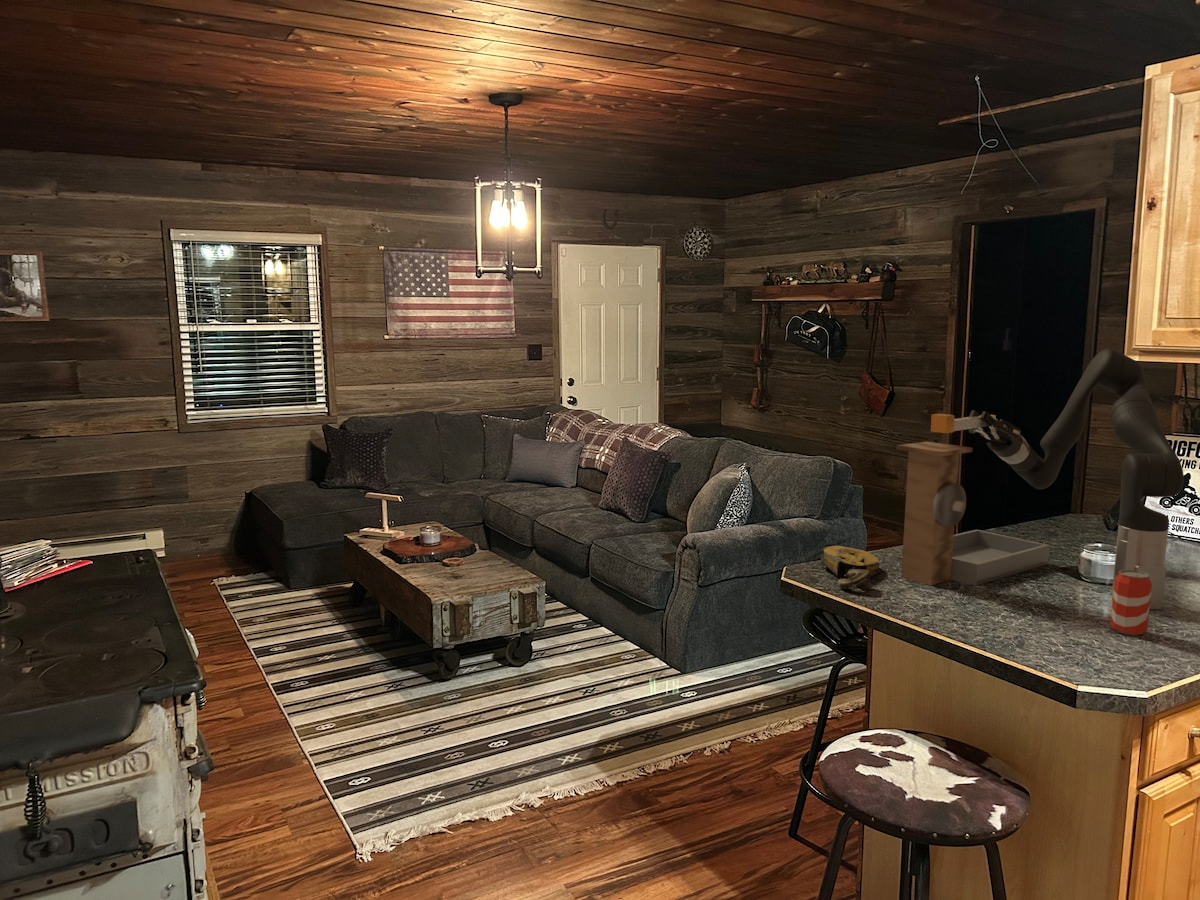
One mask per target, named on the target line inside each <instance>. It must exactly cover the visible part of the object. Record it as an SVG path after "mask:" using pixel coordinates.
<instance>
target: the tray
mask: <svg viewBox="0 0 1200 900" xmlns="http://www.w3.org/2000/svg"><path fill="white" fill-rule="evenodd" d="M1049 555H1050V544H1045V543H1040V542H1036V541H1032V540H1031V541H1030V540H1026V539H1023V538H1017V537H1013V536H1009V535H1003V534H998V533H994V532H990V531H986V530H985V531H984V530H981V529H973V530H968V531H964V532H960V533H956V534H954V537H953V552H952V566H951V580H955V581H958V582H963V583H966V584H970V585H974V586H979V585H983V584H985V583H989V582H993V581H996V580H1000V579H1002V578H1006V577H1009V576H1013V575H1018V574H1019V573H1022V572H1027V571H1030V570H1034V569H1036V568H1040V567H1044V566H1047V565H1049Z"/></svg>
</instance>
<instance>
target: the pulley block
mask: <svg viewBox="0 0 1200 900" xmlns="http://www.w3.org/2000/svg"><path fill="white" fill-rule="evenodd" d="M820 554H822V557H821V559H820V563H822V564H823V565H824V566H825V567H826V568H827V569H829V570H830V571H831V572H832V573H833V574H834V575H835V576H837V578H839V579H838V580H837V582H836V583H837V584H838V587H839V588H841V589H843V590H851V589H853V590H856V588H857V587H860V586H861V585H863V584H865V583H867V582H868V581H870V579H871V578H872V577H874V576H876V575H878V574H879V573H880V570H879V568H880V560H879V558H878V557H877V556H875V555H874V554H872V553H870V552H868V551H866V550H862V549H857V548H852V547H850V546H846V545H843V544H842V545H841V544H835V543H830V544H825V545H824V546H823V548H822V549H821V551H820ZM871 576H872V577H871Z"/></svg>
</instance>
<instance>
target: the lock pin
mask: <svg viewBox="0 0 1200 900" xmlns="http://www.w3.org/2000/svg"><path fill="white" fill-rule="evenodd" d="M981 415H982V414H981ZM981 415H980V414H979V416H971V417H969V416H966V417H958V418H955V414H949V413H948V414H945V413H933V414H931V418H930V419H931V420H930V424H931V425H930V432H932V433H933V432H934V433H940V434H941V433H942V434H951V433H954V432H957V431H964V430H969V429H972V428H978V427H985V426H987V425H986V424H985V423H984V422H983V421H982V420H981ZM990 415H991V416H992V417H993V418H996V416H997V415H995V414H990ZM996 419H997V418H996Z"/></svg>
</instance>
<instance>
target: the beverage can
mask: <svg viewBox="0 0 1200 900" xmlns="http://www.w3.org/2000/svg"><path fill="white" fill-rule="evenodd" d="M1151 589H1152V583H1151V581H1150V579H1149V575H1148V574H1147V573H1144V572H1140V571H1135V570H1120V571H1119V574H1118V576H1117V577H1116V578H1115V581H1114V591H1113V601H1112V600H1111V601H1112V602H1111V612H1110V621H1109V622H1110V623H1109V626H1110V627H1111V628H1112V629H1114V630H1115V631H1116V632H1117V633H1120V634H1123V635H1126V636H1127V635H1128V636H1141V634H1146V633H1147V631H1148V625H1149V617H1150V615H1149V614H1150V609H1149V608H1150V598H1151Z"/></svg>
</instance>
